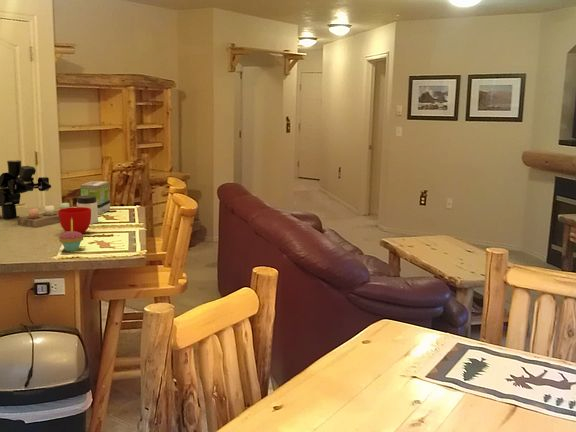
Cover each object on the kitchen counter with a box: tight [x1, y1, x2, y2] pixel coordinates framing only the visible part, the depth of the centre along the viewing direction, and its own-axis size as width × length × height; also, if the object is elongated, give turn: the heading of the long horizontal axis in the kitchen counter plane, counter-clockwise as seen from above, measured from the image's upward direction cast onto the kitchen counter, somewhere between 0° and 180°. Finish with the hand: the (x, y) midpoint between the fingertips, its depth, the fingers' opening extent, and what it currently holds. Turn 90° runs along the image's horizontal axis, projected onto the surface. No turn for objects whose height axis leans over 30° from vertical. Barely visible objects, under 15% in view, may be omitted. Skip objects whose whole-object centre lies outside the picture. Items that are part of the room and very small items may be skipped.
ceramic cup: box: [57, 206, 91, 235], centre depth 253 cm, size 13×17×10 cm
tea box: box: [80, 180, 111, 216], centre depth 297 cm, size 15×10×15 cm
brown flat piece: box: [17, 209, 60, 228], centre depth 276 cm, size 12×25×3 cm, turn 149°
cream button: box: [44, 205, 56, 216], centre depth 275 cm, size 4×4×4 cm
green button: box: [59, 202, 71, 209], centre depth 282 cm, size 4×4×4 cm
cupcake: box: [58, 218, 84, 252], centre depth 224 cm, size 9×8×12 cm
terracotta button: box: [27, 207, 40, 219], centre depth 268 cm, size 4×4×4 cm
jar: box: [76, 195, 99, 225], centre depth 272 cm, size 9×8×12 cm
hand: (42, 187), depth 268 cm, fingers open, 9 cm apart
